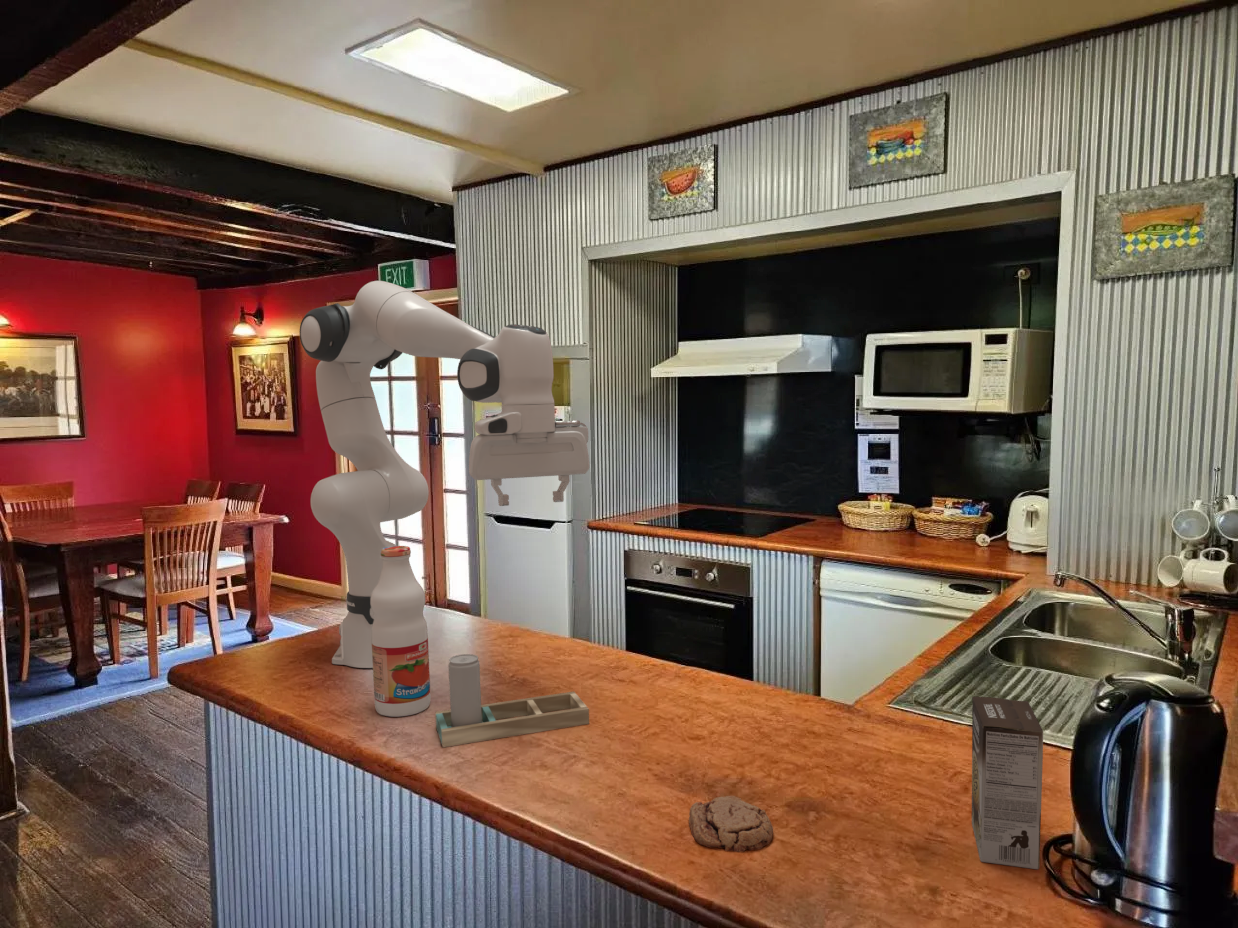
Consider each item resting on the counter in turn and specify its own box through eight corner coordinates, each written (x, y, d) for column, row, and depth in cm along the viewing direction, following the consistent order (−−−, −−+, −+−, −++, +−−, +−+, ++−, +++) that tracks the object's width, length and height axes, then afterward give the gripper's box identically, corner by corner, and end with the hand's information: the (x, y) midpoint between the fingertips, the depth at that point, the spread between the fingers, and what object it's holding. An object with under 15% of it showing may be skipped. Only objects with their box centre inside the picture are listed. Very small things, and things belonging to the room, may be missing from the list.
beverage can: (484, 725, 135) (482, 653, 134) (478, 738, 130) (475, 663, 129) (455, 725, 135) (452, 653, 134) (448, 738, 130) (444, 663, 129)
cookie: (763, 861, 95) (763, 836, 95) (675, 843, 99) (675, 819, 99) (782, 820, 104) (782, 797, 104) (701, 805, 109) (701, 783, 108)
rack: (435, 726, 136) (435, 711, 135) (574, 705, 143) (574, 691, 143) (442, 747, 128) (442, 731, 127) (589, 723, 135) (588, 708, 135)
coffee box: (969, 822, 102) (971, 694, 101) (1026, 828, 101) (1029, 699, 99) (978, 862, 94) (980, 723, 92) (1041, 870, 92) (1044, 729, 90)
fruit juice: (400, 694, 151) (392, 541, 148) (442, 701, 146) (435, 544, 144) (363, 713, 142) (354, 551, 140) (406, 721, 138) (398, 555, 136)
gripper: (582, 419, 146) (584, 497, 147) (465, 423, 139) (468, 505, 140) (593, 420, 140) (595, 501, 141) (471, 424, 133) (475, 510, 135)
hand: (531, 503), depth 141 cm, fingers open, 8 cm apart
